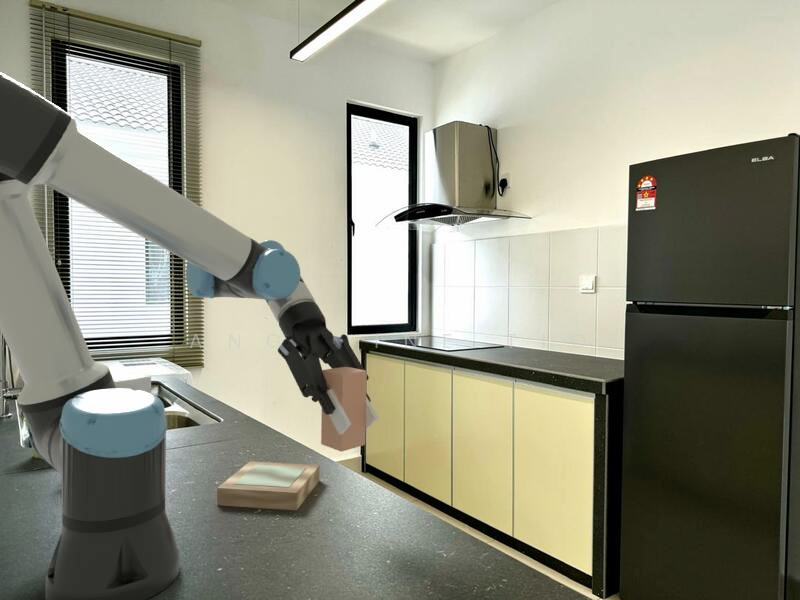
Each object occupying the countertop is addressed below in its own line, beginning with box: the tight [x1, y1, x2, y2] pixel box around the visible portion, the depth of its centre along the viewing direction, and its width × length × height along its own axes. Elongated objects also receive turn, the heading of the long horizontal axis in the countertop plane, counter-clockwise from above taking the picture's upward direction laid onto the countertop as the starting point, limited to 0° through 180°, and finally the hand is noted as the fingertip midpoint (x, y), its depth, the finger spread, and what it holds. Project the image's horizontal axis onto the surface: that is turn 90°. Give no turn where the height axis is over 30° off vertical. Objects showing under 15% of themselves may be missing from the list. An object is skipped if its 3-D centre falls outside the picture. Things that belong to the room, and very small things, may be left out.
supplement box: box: [112, 373, 152, 394], centre depth 132 cm, size 9×9×15 cm
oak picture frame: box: [216, 460, 321, 511], centre depth 99 cm, size 14×14×3 cm
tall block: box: [320, 367, 368, 452], centre depth 88 cm, size 5×5×12 cm
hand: (359, 425), depth 85 cm, fingers closed on tall block, 5 cm apart
